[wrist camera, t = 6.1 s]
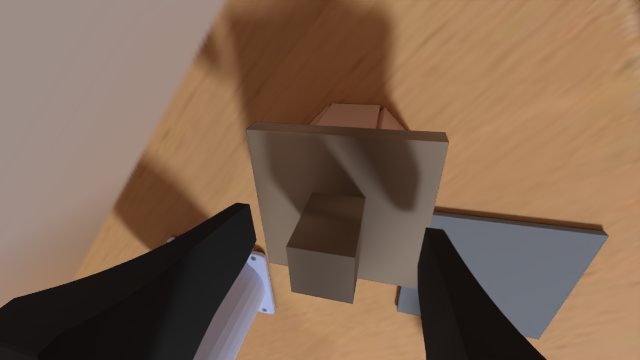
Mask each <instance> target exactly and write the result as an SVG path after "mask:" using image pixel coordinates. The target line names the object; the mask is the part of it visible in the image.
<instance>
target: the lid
mask: <svg viewBox="0 0 640 360" xmlns="http://www.w3.org/2000/svg"><path fill="white" fill-rule="evenodd" d="M246 135H247V140H248V146H249V152H250V157H251V163H252V169H253V174H254V180H255V186H256V191H257V197H258V202H259V208H260V214H261V219H262V225H263V231H264V236H265V242H266V248H267V253H268V259H269V263H274V264H279V265H285V266H288V267H289V275H290V283H291V291H292V292H295V293H300V294H305V295H310V296H315V297H320V298H325V299H331V300H336V301H341V302H346V303H351V304H353V299H354V293H355V287H356V281H357V278H358V279H364V280H369V281H375V282H381V283H386V284H392V285H397V286H403V287H409V288H414V289H416V285H417V281H418V280H417V265H418V261H419V256H420V251H421V247H422V242H423V238H424V233H425V229H426V227H428V228H430V224H431V220H432V215H433V211H434V206H435V202H436V198H437V193H438V189H439V185H440V180H441V176H442V171H443V167H444V163H445V158H446V154H447V150H448V145H449V141H448V138H447V136H446V133H445V132H428V131H411V130H393V129H375V128H358V127H340V126H322V125H304V124H287V123H269V122H255V123H254V124H252V125H251V126H250V127H248V128H247V129H246Z"/></svg>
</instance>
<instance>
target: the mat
mask: <svg viewBox="0 0 640 360" xmlns="http://www.w3.org/2000/svg"><path fill="white" fill-rule="evenodd" d="M430 228H436V229H443V230H444V231H445V232H446V234H447V235H448V237H449V239H450V240H451V242H452V244H453V245H454V247H455V248H456V250H457V252H458V253H459V255H460V256H461V258H462V259H463V261H464V262H465V264H466V265H467V267H468V268H469V270H470V271H471V272H472V274H473V275H474V277H475V278H476V279H477V281H478V282H479V284H480V285H481V286H482V288H483V289H484V290H485V291H486V293H487V294H488V295H489V297H490V298H491V299H492V300H493V302H494V303H495V304H496V305H497V307H498V308H499V309H500V310H501V311H502V313H503V314H504V315H505V316H506V317H507V318H508V320H509V321H510V322H511V323H512V324H513V325H514V326H515V327H516V329H517V330H518V331H519V332H520V333H521V334H522V335H523V336H524V337H529V338H534V339H539V338H540V337H541V335H542V334H543V332H544V331H545V329H546V328H547V327H548V325H549V324H550V322H551V321H552V319H553V318H554V316H555V315H556V313H557V312H558V310H559V309H560V307H561V306H562V304H563V303H564V302H565V300H566V299H567V297H568V296H569V294H570V293H571V291H572V290H573V288H574V287H575V285H576V284H577V282H578V281H579V279H580V278H581V276H582V275H583V274H584V272H585V271H586V269H587V268H588V266H589V265H590V263H591V262H592V260H593V259H594V257H595V256H596V254H597V253H598V251H599V250H600V249H601V247H602V246H603V244H604V243H605V241H606V240H607V238H608V237H609V236H608V235H607V234H606V233H605V231H598V230H589V229H581V228H572V227H564V226H555V225H546V224H538V223H529V222H521V221H512V220H504V219H495V218H486V217H478V216H469V215H461V214H452V213H444V212H435V211H433V215H432V220H431V224H430ZM397 312H402V313H407V314H413V315H418V316H421V313H420V305H419V297H418V281H417V285H416V289H414V288H409V287H403V286H401V288H400V294H399V299H398V304H397Z"/></svg>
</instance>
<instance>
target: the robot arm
mask: <svg viewBox="0 0 640 360" xmlns="http://www.w3.org/2000/svg"><path fill="white" fill-rule="evenodd" d="M255 242H256V235H255V230H254V225H253V220H252V215H251V210H250V205H249V204H243V203H235V204H233V205H231V206H230V207H228V208H226V209H224V210H223V211H221V212H219V213H218V214H216V215H215V216H213V217H211V218H210V219H208V220H206V221H205V222H203V223H201V224H200V225H198V226H196V227H195V228H193V229H191V230H189V231H188V232H186V233H184V234H182V235H180V236H179V237H177V238H174V237H170V238H169V239H168V240H167V243H166V244H164V245H162V246H160V247H158V248H156V249H154V250H152V251H149V252H147V253H145V254H143V255H141V256H139V257H136V258H134V259H132V260H129V261H127V262H124V263H122V264H119V265H117V266H114V267H112V268H109V269H107V270H104V271H102V272H99V273H96V274H93V275H90V276H88V277H85V278H82V279H79V280H76V281H73V282H69V283H66V284H63V285H60V286H57V287H53V288H49V289H46V290H42V291H39V292H35V293H32V294H28V295H25V296H21V297H17V298H14V299H12V300H11V301H9V302H8V303H7V304H6V305H4V306H3V307H1V308H0V360H235V358H236V356H237V354H238V352H239V349H240V347H241V345H242V343H243V341H244V339H245V337H246V335H247V333H248V330H249V328H250V326H251V324H252V322H253V320H254V318H255V316H256V314H257V312H258V311H259V312H263V313H268V314H273V313H274V312H275V304H274V298H273V293H272V288H271V282H270V277H269V271H268V266H267V260H266V256H265V255H264V254H263V253H261V252H257V251H252V249H253V247H254V245H255ZM417 280H418V297H419V305H420V313H421V320H422V328H423V335H424V343H425V350H426V360H546V359H545V358H544V357H543V356H542V355H541V354H540V353H539V352H538V351H537V350H536V349H535V348H534V347H533V346H532V345H531V344H530V343H529V342H528V340H527V339H526V338H525V337H524V336H523V335H522V334H521V333H520V332H519V331H518V330H517V329H516V327H515V326H514V325H513V324H512V323H511V322H510V321H509V320H508V318H507V317H506V316H505V315H504V314H503V313H502V311H501V310H500V309H499V308H498V307H497V305H496V304H495V303H494V302H493V300H492V299H491V298H490V297H489V295H488V294H487V293H486V291H485V290H484V289H483V288H482V286H481V285H480V284H479V282H478V281H477V279H476V278H475V277H474V275H473V274H472V272H471V271H470V270H469V268H468V267H467V265H466V264H465V262H464V261H463V259H462V258H461V256H460V255H459V253H458V252H457V250H456V248H455V247H454V245H453V244H452V242H451V240H450V239H449V237H448V235H447V234H446V232H445V231H444V230H443V229H436V228H428V227H426V229H425V233H424V238H423V242H422V247H421V251H420V256H419V261H418V265H417Z"/></svg>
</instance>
